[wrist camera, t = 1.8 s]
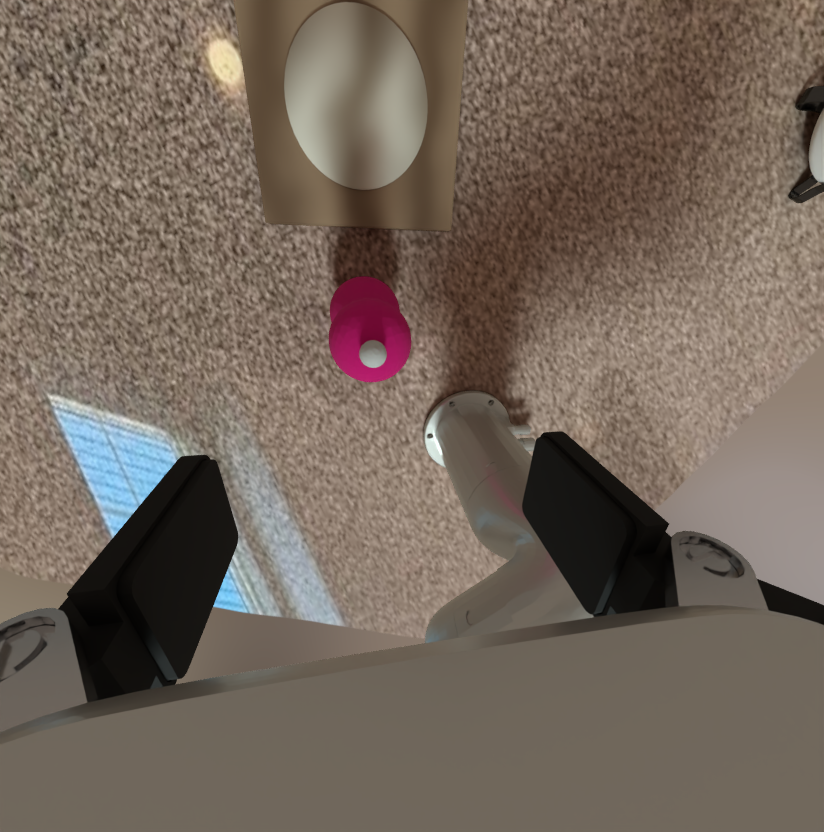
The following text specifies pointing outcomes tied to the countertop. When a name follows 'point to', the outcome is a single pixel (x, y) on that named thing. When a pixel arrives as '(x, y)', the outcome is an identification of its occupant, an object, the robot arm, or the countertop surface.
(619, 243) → the countertop surface
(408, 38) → the walnut stand
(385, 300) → the pepper mill
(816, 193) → the coffee press
